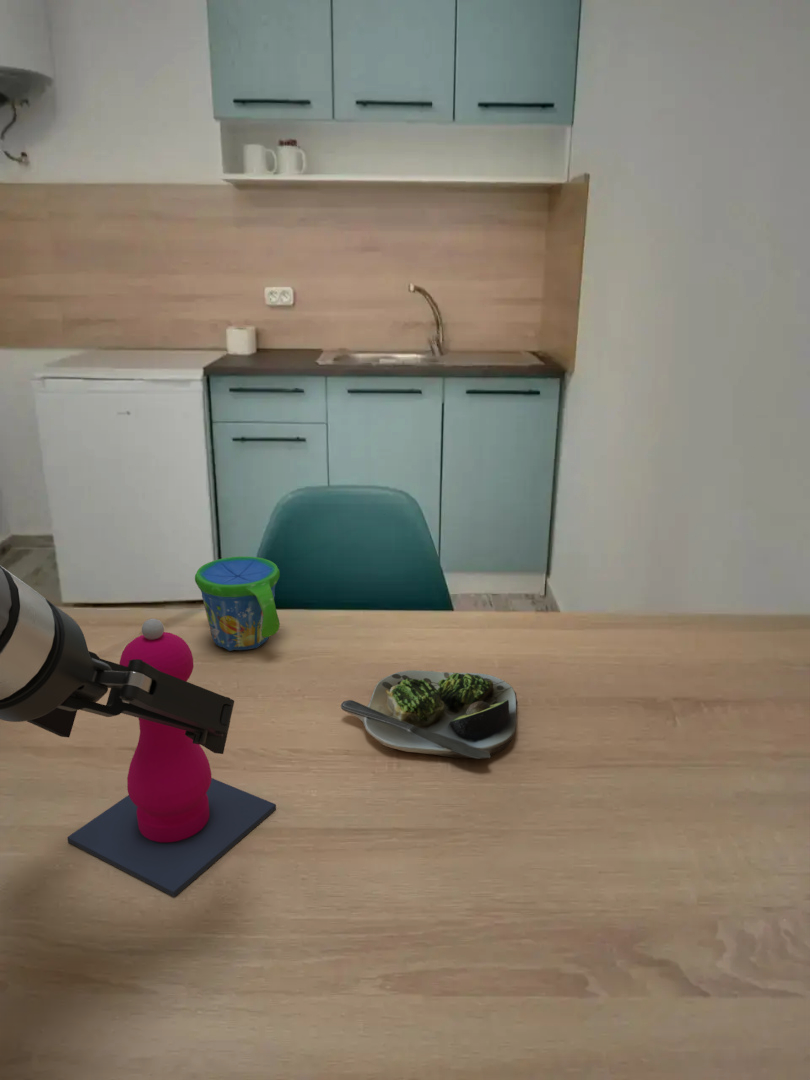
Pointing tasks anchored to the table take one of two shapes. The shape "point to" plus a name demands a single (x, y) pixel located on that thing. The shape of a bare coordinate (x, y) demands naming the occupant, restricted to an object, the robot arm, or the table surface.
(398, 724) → the salad plate
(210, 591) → the snack cup
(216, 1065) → the table surface
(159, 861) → the placemat
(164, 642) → the pepper mill
